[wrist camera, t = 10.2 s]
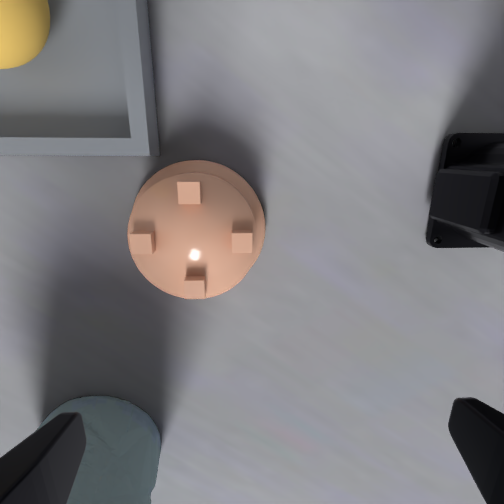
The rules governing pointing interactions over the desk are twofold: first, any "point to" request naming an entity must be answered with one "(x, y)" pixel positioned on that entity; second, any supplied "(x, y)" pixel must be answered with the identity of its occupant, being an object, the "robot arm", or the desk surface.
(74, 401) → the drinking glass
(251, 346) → the desk surface
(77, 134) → the tray
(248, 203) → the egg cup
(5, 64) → the ball
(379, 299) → the desk surface
